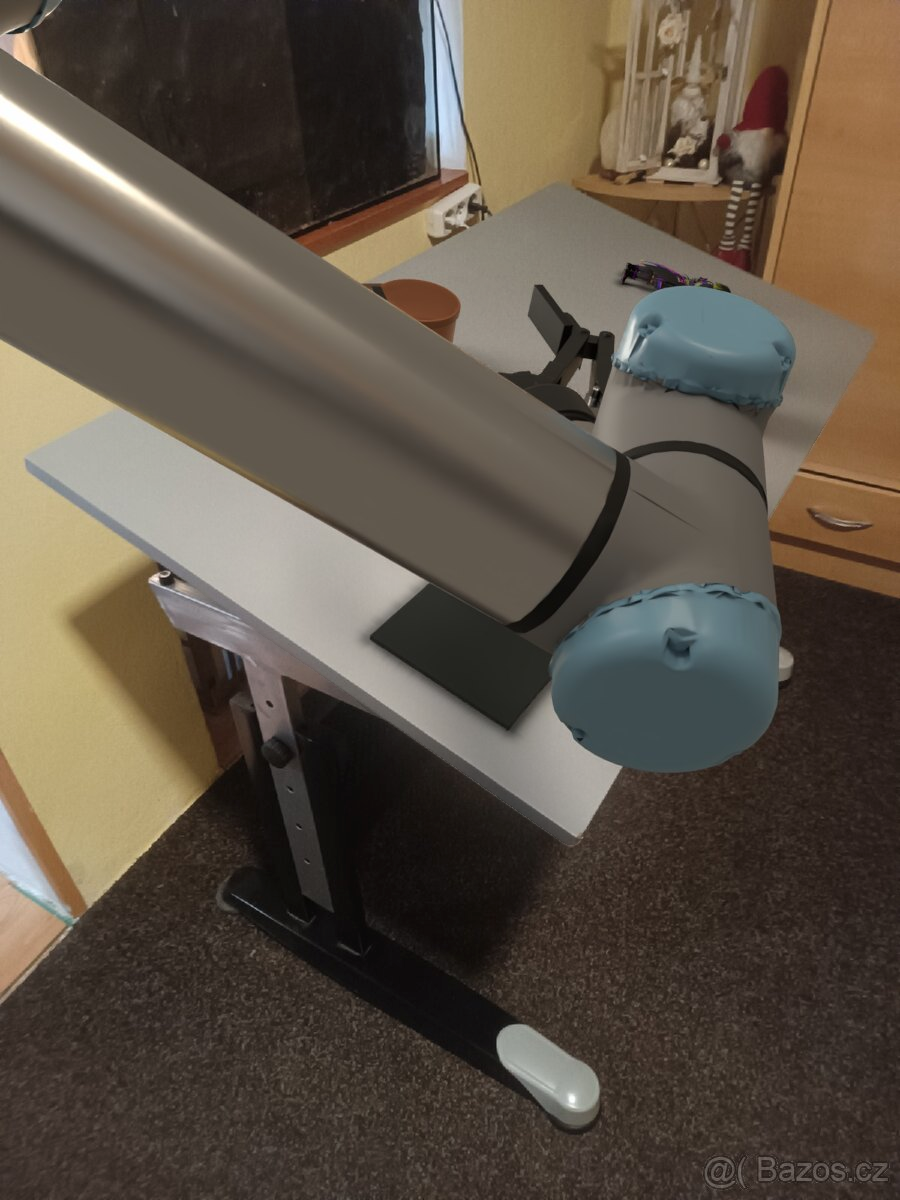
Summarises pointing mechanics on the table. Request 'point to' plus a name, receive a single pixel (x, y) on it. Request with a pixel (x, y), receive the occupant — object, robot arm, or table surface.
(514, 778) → the table surface
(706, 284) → the character figure
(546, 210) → the table surface
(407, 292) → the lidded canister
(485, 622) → the mat
